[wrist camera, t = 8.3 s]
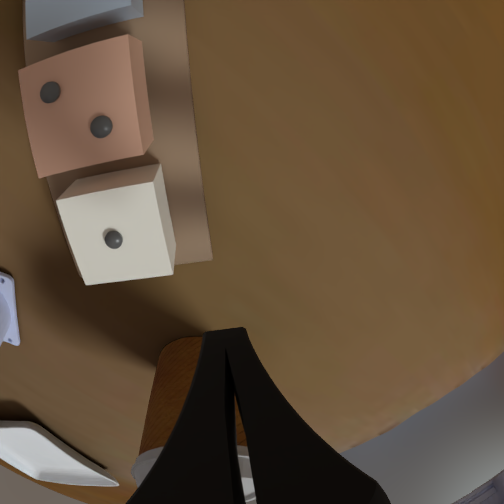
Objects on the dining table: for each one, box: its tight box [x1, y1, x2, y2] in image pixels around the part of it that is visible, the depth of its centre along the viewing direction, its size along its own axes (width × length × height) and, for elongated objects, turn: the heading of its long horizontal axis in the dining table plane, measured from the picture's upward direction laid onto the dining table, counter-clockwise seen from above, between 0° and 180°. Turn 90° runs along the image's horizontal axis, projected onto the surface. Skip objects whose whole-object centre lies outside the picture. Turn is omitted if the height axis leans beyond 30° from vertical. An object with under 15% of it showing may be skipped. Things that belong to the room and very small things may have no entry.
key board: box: [23, 0, 213, 277], centre depth 13 cm, size 21×9×3 cm, turn 4°
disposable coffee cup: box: [131, 337, 256, 502], centre depth 21 cm, size 10×10×12 cm
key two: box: [18, 34, 154, 178], centre depth 11 cm, size 5×5×3 cm
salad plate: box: [0, 420, 119, 486], centre depth 33 cm, size 21×21×3 cm
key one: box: [56, 163, 176, 285], centre depth 16 cm, size 5×5×3 cm
